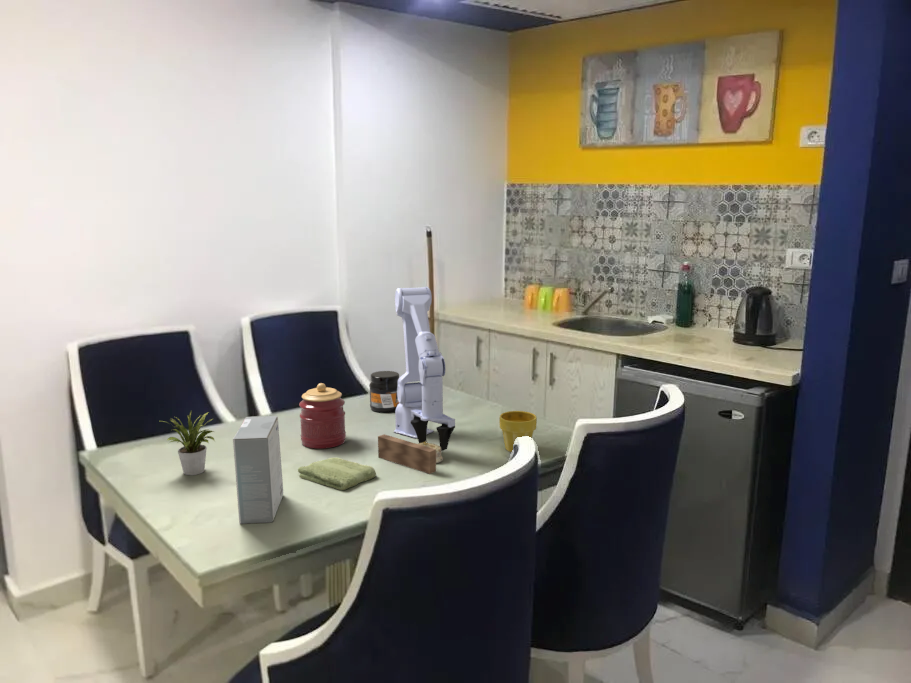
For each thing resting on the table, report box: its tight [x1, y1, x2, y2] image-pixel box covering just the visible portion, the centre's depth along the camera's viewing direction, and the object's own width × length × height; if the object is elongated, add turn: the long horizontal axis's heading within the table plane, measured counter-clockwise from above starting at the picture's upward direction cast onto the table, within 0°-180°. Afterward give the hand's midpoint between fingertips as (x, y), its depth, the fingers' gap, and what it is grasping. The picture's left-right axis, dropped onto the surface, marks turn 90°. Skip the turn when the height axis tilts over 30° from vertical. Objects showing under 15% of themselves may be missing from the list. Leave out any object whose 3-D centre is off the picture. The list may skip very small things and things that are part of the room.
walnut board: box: [377, 433, 437, 475], centre depth 195 cm, size 19×2×6 cm, turn 50°
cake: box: [417, 440, 444, 464], centre depth 199 cm, size 10×10×5 cm
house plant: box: [160, 410, 216, 476], centre depth 188 cm, size 14×14×16 cm
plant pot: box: [498, 410, 538, 453], centre depth 206 cm, size 10×10×10 cm
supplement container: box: [368, 370, 400, 413], centre depth 245 cm, size 10×10×12 cm
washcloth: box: [297, 457, 377, 491], centre depth 187 cm, size 13×18×3 cm
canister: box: [298, 382, 347, 450], centre depth 212 cm, size 13×13×18 cm
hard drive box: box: [232, 415, 284, 525], centre depth 166 cm, size 16×8×20 cm, turn 5°
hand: (433, 446), depth 203 cm, fingers open, 7 cm apart
